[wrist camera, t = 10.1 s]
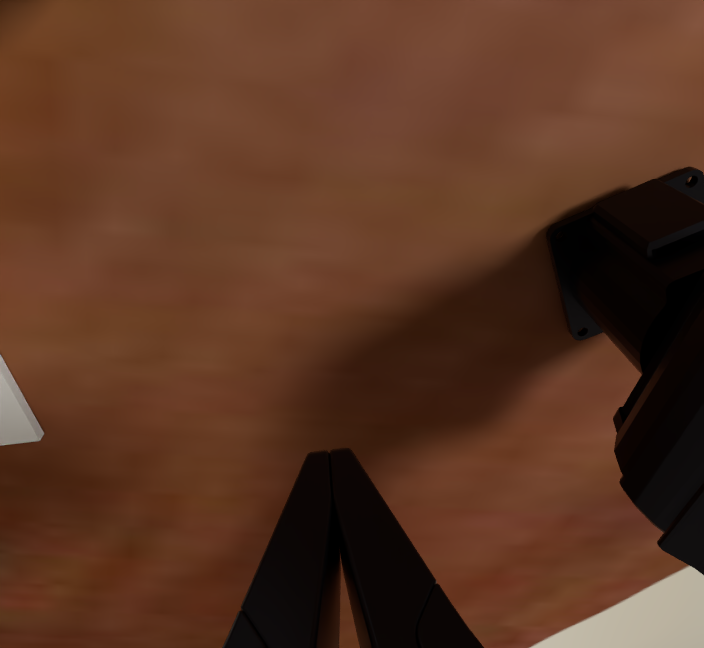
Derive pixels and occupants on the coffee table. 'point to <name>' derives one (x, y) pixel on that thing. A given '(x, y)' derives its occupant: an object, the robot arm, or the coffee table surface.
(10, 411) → the grey mat
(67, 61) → the coffee table surface
